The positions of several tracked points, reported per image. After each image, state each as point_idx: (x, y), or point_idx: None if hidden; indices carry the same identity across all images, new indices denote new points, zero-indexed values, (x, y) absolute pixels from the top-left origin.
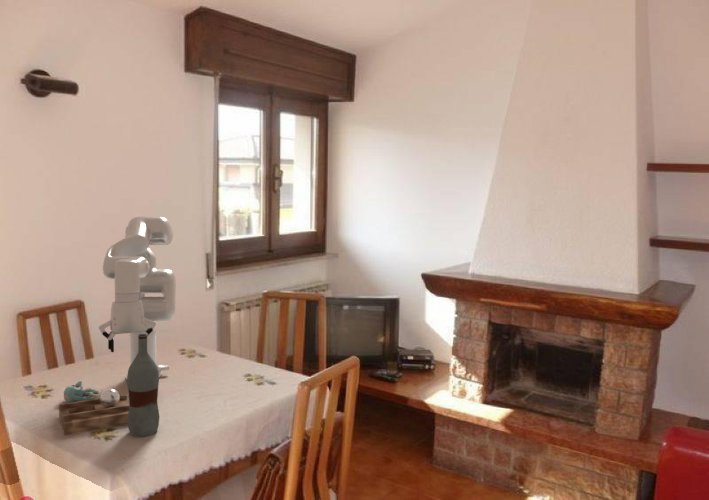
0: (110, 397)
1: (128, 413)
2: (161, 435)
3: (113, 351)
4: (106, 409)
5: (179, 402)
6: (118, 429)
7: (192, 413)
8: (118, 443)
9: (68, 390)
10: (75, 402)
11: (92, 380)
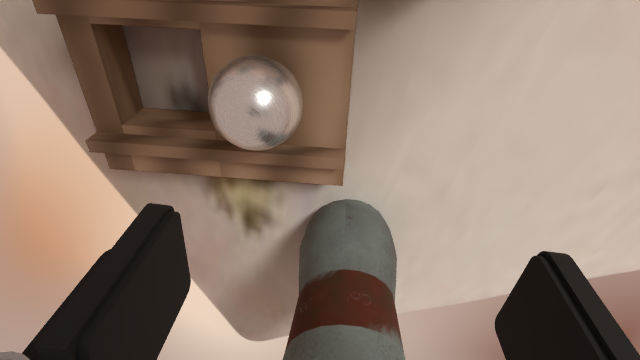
0: (252, 150)
1: (299, 269)
2: None
3: (185, 288)
4: (242, 161)
5: (593, 45)
6: (286, 184)
7: (544, 183)
8: (272, 258)
9: None
10: (104, 9)
11: None
